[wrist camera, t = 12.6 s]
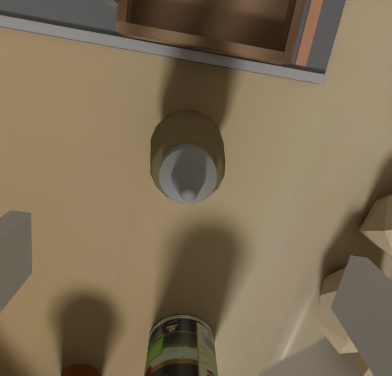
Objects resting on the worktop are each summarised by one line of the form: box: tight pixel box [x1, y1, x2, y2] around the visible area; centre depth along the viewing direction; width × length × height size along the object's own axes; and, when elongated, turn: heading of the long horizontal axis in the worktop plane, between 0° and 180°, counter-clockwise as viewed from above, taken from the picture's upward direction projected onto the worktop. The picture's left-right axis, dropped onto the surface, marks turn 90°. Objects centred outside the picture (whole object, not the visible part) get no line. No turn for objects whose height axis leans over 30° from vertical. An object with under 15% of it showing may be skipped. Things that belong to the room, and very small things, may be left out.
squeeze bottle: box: [150, 111, 225, 204], centre depth 29 cm, size 8×8×18 cm
